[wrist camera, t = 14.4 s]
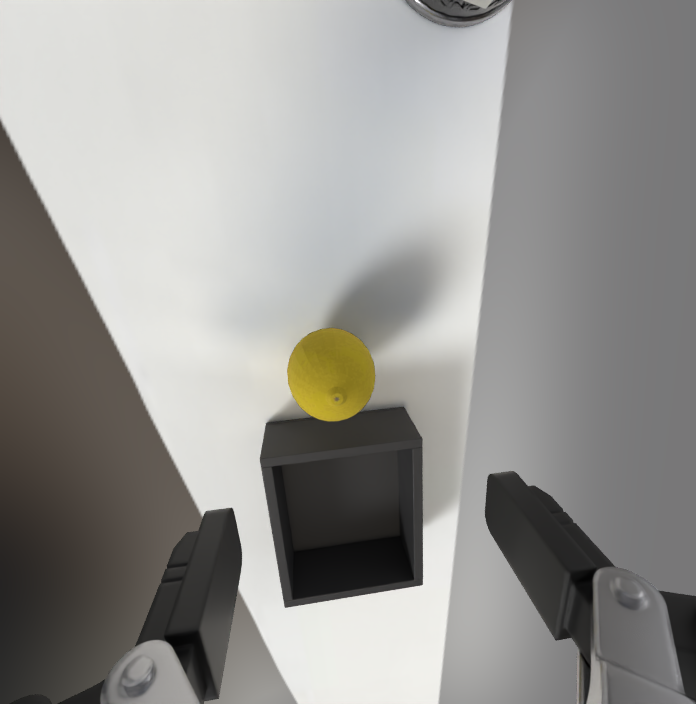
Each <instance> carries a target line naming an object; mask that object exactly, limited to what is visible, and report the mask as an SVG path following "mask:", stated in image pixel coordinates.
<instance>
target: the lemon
mask: <svg viewBox="0 0 696 704" xmlns="http://www.w3.org/2000/svg"><path fill="white" fill-rule="evenodd" d="M287 373H288V384H289V387H290V390H291V392H292V395H293V397H294V399H295V400H296V402H297V403H298V405H299V406H300V407H301V408H302V409H303V410H304V411H305V412H307V413H308V414H309V415H311V416H313V417H315V418H317V419H319V420H324V421H340V420H344V419H348V418H350V417H352V416H354V415H356V414H357V413H358V412H359V411H360V410H362V409H363V408H364V406H365V405H366V404H367V402H368V401H369V399H370V397H371V394H372V392H373V389H374V383H375V369H374V362H373V360H372V357H371V355H370V353H369V350H368V349H367V348H366V346H365V345H364V344H363V343H362V341H361V340H360V339H358V338H357V337H355V336H354V335H353V334H351V333H349V332H347V331H344V330H342V329H335V328H326V329H320V330H317V331H314V332H312V333H310V334H308V335H307V336H306V337H304V338H303V339H302V340H301V341H300V342H299V343H298V344H297V345H296V347H295V348H294V350H293V352H292V354H291V356H290V359H289V364H288V369H287Z"/></svg>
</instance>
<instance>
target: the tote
mask: <svg viewBox="0 0 696 704" xmlns="http://www.w3.org/2000/svg"><path fill="white" fill-rule="evenodd" d="M260 463H261V469H262V475H263V481H264V487H265V493H266V499H267V505H268V511H269V517H270V523H271V528H272V534H273V540H274V546H275V552H276V558H277V564H278V570H279V576H280V582H281V588H282V594H283V600H284V606H285V608H287V607H293V606H299V605H305V604H311V603H317V602H323V601H329V600H335V599H341V598H347V597H353V596H359V595H365V594H372V593H378V592H384V591H390V590H396V589H402V588H408V587H414V586H420V585H423V496H422V437H421V436H420V434H419V432H418V430H417V429H416V427H415V425H414V424H413V422H412V420H411V418H410V417H409V415H408V413H407V412H406V410H405V408H404V407H398V408H390V409H381V410H373V411H364V412H358V413H357V414H356V415H354V416H352V417H350V418H348V419H344V420H340V421H324V420H319V419H317V418H315V417H314V418H305V419H297V420H288V421H280V422H272V423H266V427H265V433H264V439H263V444H262V450H261V456H260Z"/></svg>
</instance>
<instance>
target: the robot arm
mask: <svg viewBox="0 0 696 704" xmlns="http://www.w3.org/2000/svg"><path fill="white" fill-rule="evenodd" d="M405 1H406V2H407V3H408V4H409V5H410V6H411V7H412V8H413V9H414V10H415V11H416V12H418V13H419V14H420V15H422V16H423V17H425V18H427V19H428V20H430V21H432V22H435V23H437V24H441V25H444V26H450V27H466V26H471V25H475V24H478V23H481V22H483V21H485V20H488V19H489V18H491V17H493V16H494V15H496V14H497V13H498V12H500V11H501V10H502V9H503V8H504V7H506V6H507V5H508V4H509V3H510V2H511V0H405ZM485 517H486V522H487V526H488V529H489V531H490V533H491V535H492V536H493V538H494V540H495V541H496V543H497V545H498V546H499V548H500V550H501V551H502V553H503V554H504V556H505V558H506V559H507V561H508V563H509V564H510V566H511V568H512V569H513V571H514V573H515V574H516V576H517V578H518V579H519V581H520V582H521V584H522V586H523V587H524V589H525V590H526V592H527V594H528V595H529V597H530V599H531V600H532V602H533V604H534V605H535V607H536V609H537V610H538V612H539V614H540V615H541V617H542V619H543V620H544V622H545V623H546V625H547V627H548V629H549V630H550V632H551V633H552V635H553V637H554V638H555V640H562V639H567V638H572V639H573V641H574V642H575V643H576V645H577V647H578V653H577V685H576V704H696V596H690V595H684V594H676V593H670V592H664V591H658V590H657V589H656V588H655V587H654V586H653V585H651V583H649V582H648V581H647V580H645V579H644V578H643V577H641V576H639V575H637V574H635V573H633V572H631V571H629V570H626V569H623V568H618V567H615V566H614V565H613V564H612V563H611V562H610V560H609V559H608V558H607V557H606V556H605V555H604V554H603V553H602V552H601V551H600V549H599V548H598V547H597V546H596V545H595V544H594V543H593V542H592V541H591V540H590V538H589V537H588V536H587V535H586V534H585V533H584V532H583V531H582V530H581V529H580V527H579V526H577V524H576V523H573V520H572V519H571V518H570V517H569V516H568V514H567V513H566V512H563V509H562V508H561V507H560V506H559V504H558V503H557V502H556V501H555V500H554V499H553V498H552V497H551V496H550V495H548V494H547V493H545V492H543V491H542V490H540V489H539V488H537V487H536V486H527V485H526V483H525V482H524V481H523V480H522V479H521V478H520V477H519V475H518V474H517V473H515V472H514V471H509V472H501V473H494V474H490V475H489V476H488V480H487V493H486V506H485ZM241 566H242V549H241V543H240V539H239V534H238V529H237V524H236V519H235V515H234V511H233V509H232V508H226V509H218V510H211V511H206V512H205V514H204V516H203V519H202V522H201V525H200V528H199V531H195V532H187V533H186V534H185V536H184V537H183V538H182V539H181V541H180V542H179V543H178V544H177V545H176V546H175V548H174V549H173V552H172V554H171V557H170V559H169V562H168V564H167V569H166V570H165V572H164V575H163V577H162V580H161V584H160V585H159V587H158V590H157V593H156V595H155V598H154V601H153V603H152V605H151V608H150V610H149V613H148V615H147V618H146V621H145V623H144V626H143V628H142V631H141V633H140V636H139V639H138V641H137V643H136V645H135V647H134V648H133V649H131V650H130V651H128V652H127V653H126V654H125V655H123V656H122V657H121V658H120V659H119V660H118V661H117V663H116V664H115V665H114V666H113V667H112V669H111V671H110V672H109V673H108V675H107V677H106V679H104V680H103V681H102V682H100V683H98V684H97V685H95V686H93V687H91V688H89V689H87V690H85V691H83V692H81V693H79V694H77V695H74V696H72V697H71V698H68V699H66V700H64V701H62V702H60V703H58V704H204V701H208V700H213V699H219V694H220V688H221V682H222V676H223V671H224V665H225V659H226V653H227V647H228V642H229V636H230V630H231V625H232V619H233V613H234V607H235V601H236V596H237V590H238V585H239V579H240V573H241ZM11 704H52V703H51V701H50V700H49V699H48V698H47V697H46V696H43V695H29V696H26V697H23V698H20V699H18V700H16V701H14V702H12V703H11Z"/></svg>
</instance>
